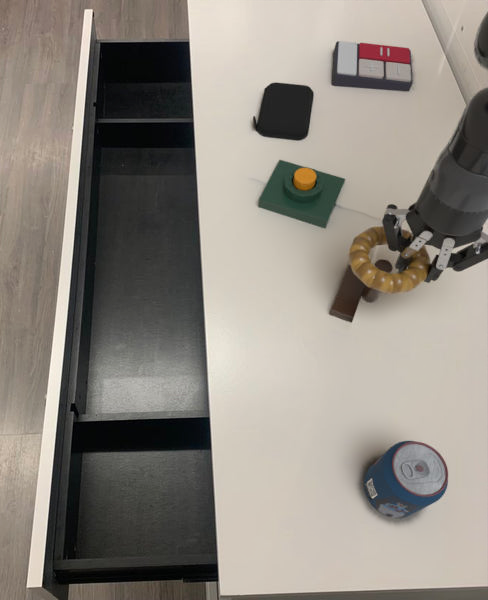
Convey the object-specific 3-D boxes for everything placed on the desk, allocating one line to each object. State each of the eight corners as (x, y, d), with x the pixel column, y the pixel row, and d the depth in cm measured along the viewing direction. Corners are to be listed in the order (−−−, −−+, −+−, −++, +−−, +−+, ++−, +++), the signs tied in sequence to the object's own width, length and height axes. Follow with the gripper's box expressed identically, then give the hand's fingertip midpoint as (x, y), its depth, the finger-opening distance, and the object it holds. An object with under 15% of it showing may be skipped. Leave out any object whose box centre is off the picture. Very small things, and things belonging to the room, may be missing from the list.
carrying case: (260, 89, 107) (249, 140, 100) (261, 76, 104) (249, 127, 97) (313, 95, 106) (306, 147, 98) (315, 82, 103) (308, 134, 96)
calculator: (414, 80, 101) (335, 71, 102) (406, 99, 105) (329, 90, 106) (412, 45, 106) (337, 37, 108) (404, 64, 110) (332, 56, 111)
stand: (403, 288, 82) (424, 252, 74) (388, 336, 78) (408, 303, 70) (346, 269, 84) (360, 232, 76) (329, 314, 80) (342, 280, 72)
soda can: (405, 459, 69) (439, 431, 58) (425, 515, 65) (465, 496, 55) (353, 467, 68) (377, 441, 58) (371, 524, 65) (400, 507, 55)
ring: (433, 247, 73) (440, 236, 71) (416, 307, 69) (422, 297, 66) (359, 224, 76) (363, 213, 74) (337, 280, 71) (341, 270, 69)
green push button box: (342, 187, 93) (347, 171, 89) (325, 228, 88) (329, 213, 85) (278, 168, 96) (280, 151, 92) (258, 207, 91) (259, 191, 88)
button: (317, 178, 89) (319, 171, 88) (310, 193, 88) (312, 186, 86) (297, 172, 90) (298, 165, 89) (290, 187, 89) (291, 179, 87)
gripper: (541, 177, 56) (473, 269, 71) (408, 142, 60) (370, 236, 75) (532, 229, 53) (462, 313, 68) (391, 188, 57) (355, 277, 71)
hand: (414, 272), depth 71 cm, fingers closed on ring, 3 cm apart
